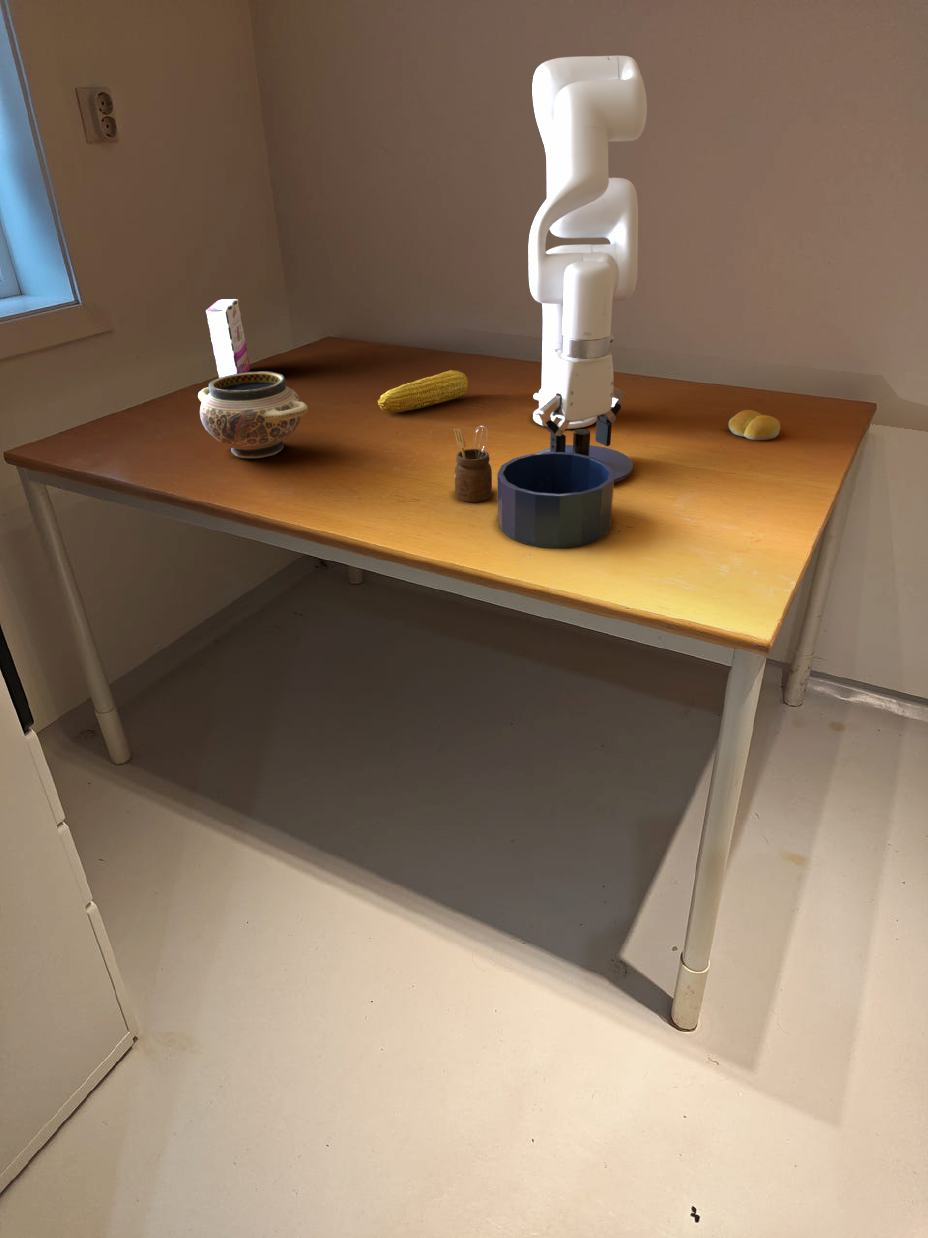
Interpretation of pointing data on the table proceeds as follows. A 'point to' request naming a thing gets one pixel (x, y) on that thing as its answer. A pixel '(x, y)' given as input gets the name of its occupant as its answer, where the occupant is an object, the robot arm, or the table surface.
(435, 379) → the food
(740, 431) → the bread roll
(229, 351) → the candy bar box
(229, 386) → the ceramic bowl
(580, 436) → the tin lid
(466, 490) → the utensil holder
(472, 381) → the table surface
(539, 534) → the tin
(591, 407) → the robot arm
